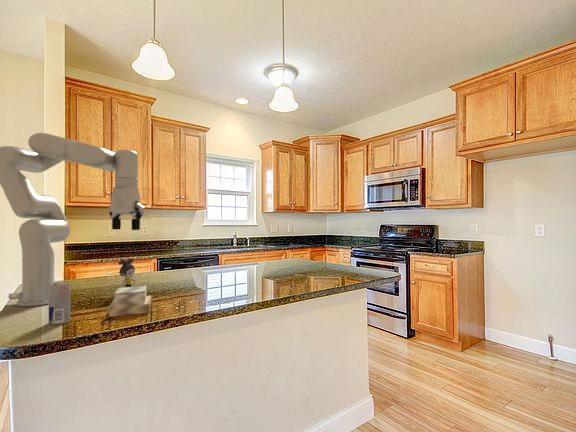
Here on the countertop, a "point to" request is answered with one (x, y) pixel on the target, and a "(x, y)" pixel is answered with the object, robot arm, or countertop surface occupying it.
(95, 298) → the countertop surface
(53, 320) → the energy drink
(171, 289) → the countertop surface
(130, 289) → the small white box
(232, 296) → the countertop surface
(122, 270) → the toy
